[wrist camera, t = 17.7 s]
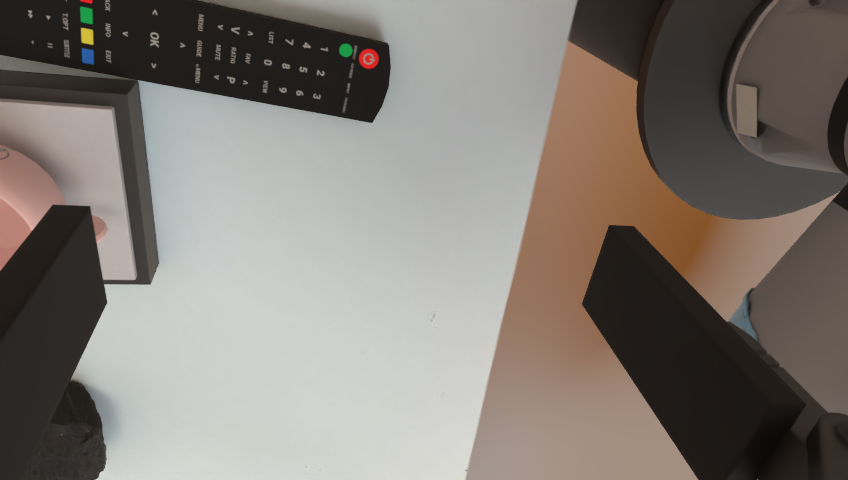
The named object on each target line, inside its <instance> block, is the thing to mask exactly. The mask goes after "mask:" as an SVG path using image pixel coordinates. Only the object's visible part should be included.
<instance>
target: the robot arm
mask: <svg viewBox="0 0 848 480" xmlns="http://www.w3.org/2000/svg"><path fill="white" fill-rule="evenodd" d="M719 103H720V111H721V116H722V119H723V122H724V125H725V127H726V129H727V131H728V133H729V134H730V136H731V137H732V138H733V140H734V141H735V142H736V143H737V144H739V145H740V146H741V147H742V148H744V149H746V150H747V151H749V152H751V153H752V154H754V155H756V156H757V157H759V158H761V159H764V160H766V161H770V162H773V163H776V164H780V165H785V166H792V167H799V168H807V169H814V170H821V171H828V172H836V173H843V174H845V175H847V176H848V0H762V1H761V2H760V3H759V4H758V5H757V7H756V8H755V9H754V10H753V11H752V13H751V14H750V16H749V17H748V18H747V20H746V21H745V23H744V24H743V26H742V27H741V29H740V31H739V32H738V34H737V36H736V38H735V40H734V42H733V44H732V46H731V48H730V51H729V53H728V56H727V58H726V61H725V64H724V68H723V72H722V76H721V82H720V91H719ZM106 304H107V299H106V293H105V288H104V282H103V276H102V271H101V265H100V259H99V253H98V248H97V242H96V236H95V230H94V225H93V219H92V213H91V207H90V206H78V205H52V206H51V207H50V209H49V210H48V211H47V212H46V214H45V215H44V216H43V218H42V219H41V220H40V221H39V223H38V224H37V225H36V226H35V228H34V229H33V230H32V231H31V233H30V234H29V235H28V236H27V238H26V239H25V240H24V241H23V243H22V244H21V245H20V247H19V248H18V249H17V250H16V252H15V253H14V254H13V255H12V257H11V258H10V259H9V260H8V262H7V263H6V264H5V265H4V267H3V268H2V269H1V270H0V480H23V478H24V476H25V474H26V472H27V470H28V468H29V465H30V463H31V461H32V459H33V457H34V455H35V453H36V451H37V449H38V447H39V444H40V442H41V440H42V438H43V436H44V434H45V432H46V430H47V428H48V426H49V423H50V421H51V419H52V417H53V415H54V413H55V411H56V409H57V407H58V405H59V402H60V400H61V398H62V396H63V394H64V392H65V390H66V388H67V386H68V384H69V381H70V379H71V377H72V375H73V373H74V371H75V369H76V367H77V365H78V363H79V360H80V358H81V356H82V354H83V352H84V350H85V348H86V346H87V344H88V342H89V339H90V337H91V335H92V333H93V331H94V329H95V327H96V325H97V323H98V321H99V318H100V316H101V314H102V312H103V310H104V308H105V306H106ZM582 305H583V307H584V308H585V309H586V311H587V312H588V314H589V315H590V317H591V318H592V320H593V322H594V323H595V325H596V326H597V328H598V329H599V331H600V332H601V334H602V335H603V337H604V338H605V340H606V341H607V343H608V344H609V345H610V347H611V349H612V350H613V352H614V353H615V355H616V356H617V358H618V359H619V361H620V362H621V364H622V365H623V367H624V368H625V370H626V371H627V372H628V374H629V376H630V377H631V379H632V380H633V382H634V383H635V385H636V386H637V388H638V389H639V391H640V392H641V394H642V395H643V397H644V398H645V400H646V401H647V403H648V404H649V406H650V407H651V409H652V410H653V412H654V413H655V415H656V416H657V418H658V419H659V421H660V423H661V424H662V426H663V427H664V429H665V430H666V432H667V433H668V435H669V436H670V438H671V439H672V441H673V442H674V443H675V445H676V447H677V448H678V450H679V451H680V452H681V454H682V456H683V457H684V459H685V460H686V462H687V463H688V465H689V466H690V468H691V469H692V471H693V472H694V474H695V475H696V477H697V478H698V480H757V479H758V480H848V183H847V184H846V185H845V187H844V188H843V189H842V190H841V191H840V192H839V194H838V195H837V196H836V197H835V198H834V199H833V200H832V201H831V202H830V204H829V205H828V206H827V207H826V208H825V209H824V210H823V212H822V213H821V214H820V215H819V216H818V217H817V218H816V219H815V221H814V222H813V223H812V224H811V225H810V226H809V227H808V228H807V230H806V231H805V232H804V233H803V234H802V236H800V238H799V239H798V240H797V241H796V242H795V243H794V245H793V246H792V247H791V248H790V249H789V250H788V251H787V252H786V253H785V255H784V256H783V257H782V258H781V259H780V261H778V263H777V264H776V265H775V266H774V267H773V268H772V269H771V271H770V272H769V273H768V274H767V275H766V276H765V277H764V279H763V280H762V281H761V282H760V283H759V284H758V285H757V286H756V288H751V289H750V290H749V291H748V292H747V293H746V294H745V296H744V298H743V302H742V304H741V305H740V307H739V308H738V309H737V310H736V312H735V313H734V314H733V316H732V317H731V318H730V319H729V321H728V322H726V321H725V320H724V319H723V318H722V317H721V316H720V315H719V314H718V313H717V312H716V311H715V310H714V309H713V308H712V306H710V304H709V303H708V302H707V301H706V300H705V299H704V298H703V297H702V296H701V295H700V294H699V293H698V292H697V291H696V290H695V289H694V288H693V287H692V286H691V285H690V284H689V283H688V282H687V281H686V280H685V279H684V278H683V277H682V276H681V275H680V274H679V272H677V271H676V269H675V268H674V267H673V266H672V265H671V264H670V263H669V262H668V261H667V260H666V259H665V258H664V257H663V256H662V255H661V254H660V253H659V252H658V251H657V250H656V249H655V248H654V247H653V246H652V245H651V244H650V242H649V241H647V239H646V238H645V237H643V235H642V234H641V233H640V232H639V231H638V230H637V229H636V228H635V227H634V226H616V225H610V226H609V227H608V230H607V233H606V236H605V239H604V242H603V244H602V248H601V250H600V254H599V256H598V259H597V262H596V265H595V268H594V271H593V274H592V277H591V279H590V282H589V285H588V288H587V291H586V294H585V297H584V300H583V303H582Z"/></svg>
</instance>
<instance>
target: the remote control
mask: <svg viewBox="0 0 848 480" xmlns="http://www.w3.org/2000/svg"><path fill="white" fill-rule="evenodd" d="M0 55H4V56H10V57H15V58H21V59H26V60H32V61H37V62H43V63H48V64H54V65H59V66H64V67H70V68H75V69H81V70H86V71H92V72H97V73H103V74H108V75H114V76H119V77H125V78H130V79H135V80H141V81H146V82H152V83H157V84H163V85H168V86H174V87H179V88H185V89H190V90H195V91H201V92H206V93H212V94H217V95H223V96H228V97H234V98H239V99H245V100H250V101H256V102H261V103H266V104H272V105H277V106H283V107H288V108H294V109H299V110H305V111H310V112H316V113H321V114H327V115H332V116H337V117H343V118H348V119H354V120H359V121H365V122H370V123H372V122H373V121H374V119H375V117H376V115H377V114H378V112H379V110H380V108H381V107H382V105H383V102H384V99H385V96H386V93H387V90H388V87H389V77H390V68H391V66H390V54H389V45H388V43H385V42H381V41H376V40H372V39H367V38H363V37H358V36H354V35H349V34H345V33H340V32H336V31H331V30H327V29H323V28H318V27H314V26H309V25H305V24H300V23H296V22H291V21H287V20H282V19H278V18H273V17H269V16H265V15H260V14H256V13H251V12H247V11H242V10H238V9H233V8H229V7H224V6H220V5H215V4H211V3H207V2H202V1H198V0H0Z"/></svg>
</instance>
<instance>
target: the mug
mask: <svg viewBox="0 0 848 480" xmlns="http://www.w3.org/2000/svg"><path fill="white" fill-rule="evenodd" d="M52 205H66V202H65V199H64V197H63V195H62V193H61V191H60V189H59V187H58V185H57V184H56V183H55V182H54V180H53V179H52V178H51V177H50V175H49V174H48V173H47V172H46V171H45V170H43V169H42V168H41V167H40V166H39V165H38V164H37V163H36V162H34V161H33V160H31V159H29V158H28V157H26V156H25V155H23V154H21V153H20V152H18V151H15V150H13V149H11V148H8V147H6V146H4V145H1V144H0V270H1V269H2V268H3V267H4V265H5V264H6V263H7V262H8V260H9V259H10V258H11V257H12V255H13V254H14V253H15V252H16V250H17V249H18V248H19V247H20V245H21V244H22V243H23V241H24V240H25V239H26V238H27V236H28V235H29V234H30V233H31V231H32V230H33V229H34V228H35V226H36V225H37V224H38V223H39V221H40V220H41V219H42V218H43V216H44V215H45V214H46V212H47V211H48V210H49V209H50V207H51V206H52ZM92 219H93V225H94V230H95V236H96V242H97V243H99V242H100V241H101V240H103V238H104V237H105V235H106V233H107V230H108V228H107V225H106V224H105V222H104V221H103V220H102V219H101V218H99V217H97V216H94V215H92Z"/></svg>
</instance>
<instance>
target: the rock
mask: <svg viewBox="0 0 848 480" xmlns="http://www.w3.org/2000/svg"><path fill="white" fill-rule="evenodd" d="M103 441H104V438H103V433H102V422H101V418H100V416H99V414H98V412H97V410H96V407H95V403H94V401H93V400H92V399H91V396H90V394H89V393H88V391H87V390H86V389H85V387H84V386H82V385H79V384H76V383H69V384H68V386H67V388H66V390H65V392H64V394H63V396H62V398H61V400H60V402H59V405H58V407H57V409H56V411H55V413H54V415H53V417H52V419H51V421H50V423H49V426H48V428H47V430H46V432H45V434H44V436H43V438H42V440H41V442H40V444H39V447H38V449H37V451H36V453H35V455H34V457H33V459H32V461H31V463H30V465H29V468H28V470H27V472H26V474H25V476H24V478H23V480H95V479H97V478H98V477H99V473H100V472H101V471H103V470H104V468H105V464H106V445H105V444H104V442H103Z"/></svg>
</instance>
